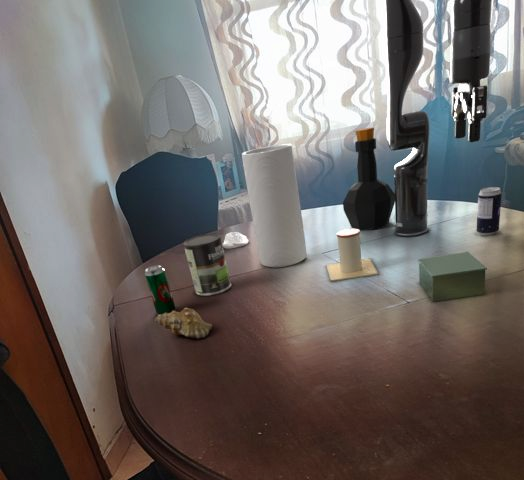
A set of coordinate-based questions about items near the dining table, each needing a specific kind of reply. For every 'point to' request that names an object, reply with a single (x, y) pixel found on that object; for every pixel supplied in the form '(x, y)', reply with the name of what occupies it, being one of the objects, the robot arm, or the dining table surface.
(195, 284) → the coffee can
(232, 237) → the white lumpy mound
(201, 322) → the seashell
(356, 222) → the bottle
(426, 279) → the tin
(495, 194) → the beverage can
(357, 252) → the canister
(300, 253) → the vase
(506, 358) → the dining table surface
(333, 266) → the mat
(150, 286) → the soda can
